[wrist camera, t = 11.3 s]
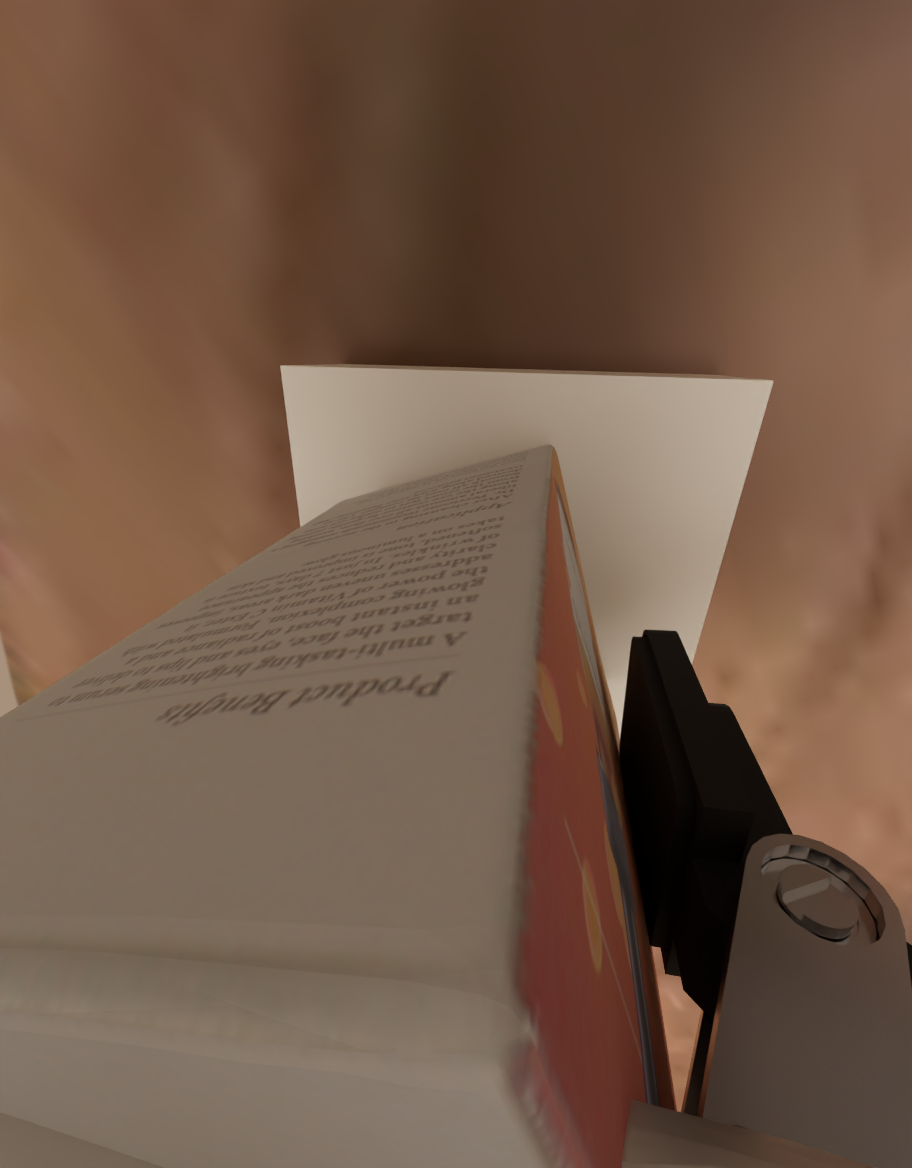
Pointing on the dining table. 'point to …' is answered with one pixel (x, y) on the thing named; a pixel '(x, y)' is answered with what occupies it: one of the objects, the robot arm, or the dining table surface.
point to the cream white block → (587, 461)
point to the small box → (339, 858)
